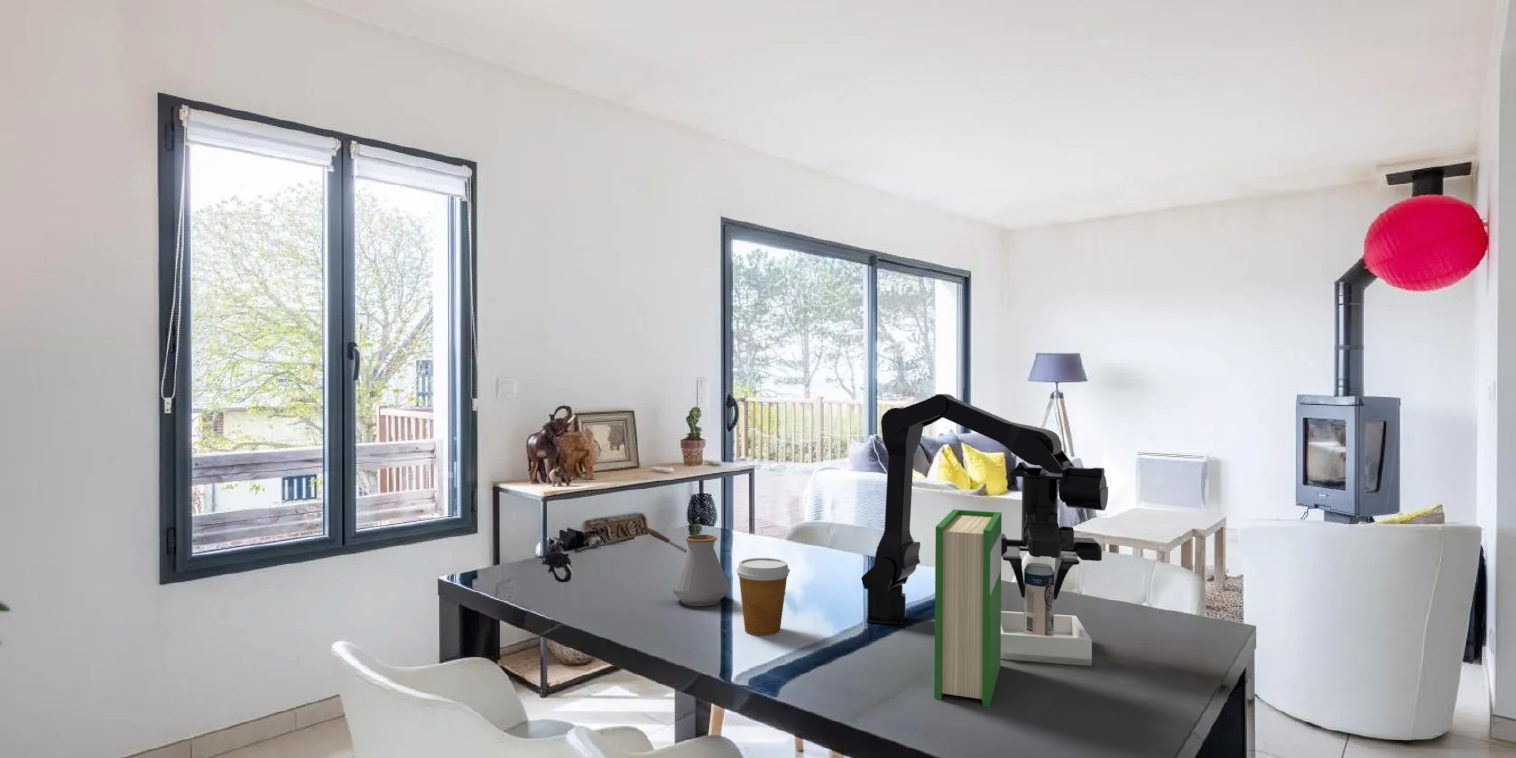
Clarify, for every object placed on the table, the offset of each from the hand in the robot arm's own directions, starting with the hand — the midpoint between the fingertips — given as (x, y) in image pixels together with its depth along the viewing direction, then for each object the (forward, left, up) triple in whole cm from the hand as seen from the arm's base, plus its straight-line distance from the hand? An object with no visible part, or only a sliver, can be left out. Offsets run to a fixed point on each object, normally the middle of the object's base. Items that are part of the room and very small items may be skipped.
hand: (1038, 598), depth 135 cm
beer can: (0, 0, -7) cm, 7 cm away
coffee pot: (-68, +16, -9) cm, 70 cm away
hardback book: (-12, -18, -9) cm, 24 cm away
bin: (0, 0, -8) cm, 8 cm away
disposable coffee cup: (-47, -1, -9) cm, 48 cm away
